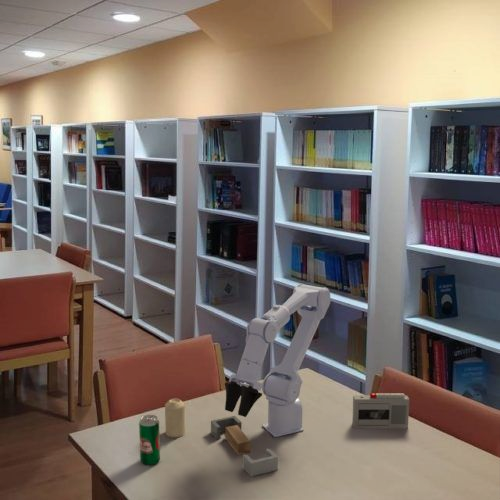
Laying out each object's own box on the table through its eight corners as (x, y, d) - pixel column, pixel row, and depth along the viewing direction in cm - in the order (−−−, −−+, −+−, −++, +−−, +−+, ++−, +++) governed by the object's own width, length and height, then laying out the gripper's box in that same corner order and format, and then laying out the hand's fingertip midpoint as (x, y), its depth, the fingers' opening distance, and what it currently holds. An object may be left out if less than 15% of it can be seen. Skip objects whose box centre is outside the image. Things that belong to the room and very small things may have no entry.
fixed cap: (234, 426, 175) (234, 415, 175) (241, 433, 171) (241, 422, 171) (210, 432, 172) (210, 420, 171) (217, 439, 168) (217, 427, 167)
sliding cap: (269, 461, 156) (269, 448, 156) (277, 469, 152) (277, 456, 152) (243, 467, 153) (243, 455, 152) (251, 476, 149) (251, 463, 148)
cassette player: (353, 428, 174) (355, 396, 173) (352, 424, 177) (353, 392, 175) (407, 428, 174) (409, 396, 173) (405, 424, 177) (407, 392, 175)
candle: (181, 438, 168) (181, 404, 167) (162, 436, 169) (162, 403, 168) (187, 429, 174) (187, 396, 172) (169, 427, 175) (168, 395, 173)
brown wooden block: (237, 436, 170) (237, 425, 169) (250, 453, 161) (250, 441, 160) (225, 438, 169) (225, 427, 168) (238, 455, 160) (238, 443, 159)
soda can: (136, 462, 155) (134, 419, 153) (149, 454, 160) (148, 412, 157) (150, 468, 153) (149, 424, 151) (164, 460, 157) (163, 417, 155)
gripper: (226, 355, 164) (210, 404, 160) (252, 360, 151) (234, 413, 148) (248, 363, 167) (232, 412, 163) (274, 369, 154) (258, 421, 150)
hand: (235, 413), depth 156 cm, fingers open, 7 cm apart
